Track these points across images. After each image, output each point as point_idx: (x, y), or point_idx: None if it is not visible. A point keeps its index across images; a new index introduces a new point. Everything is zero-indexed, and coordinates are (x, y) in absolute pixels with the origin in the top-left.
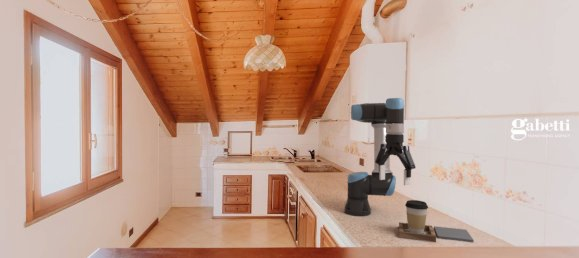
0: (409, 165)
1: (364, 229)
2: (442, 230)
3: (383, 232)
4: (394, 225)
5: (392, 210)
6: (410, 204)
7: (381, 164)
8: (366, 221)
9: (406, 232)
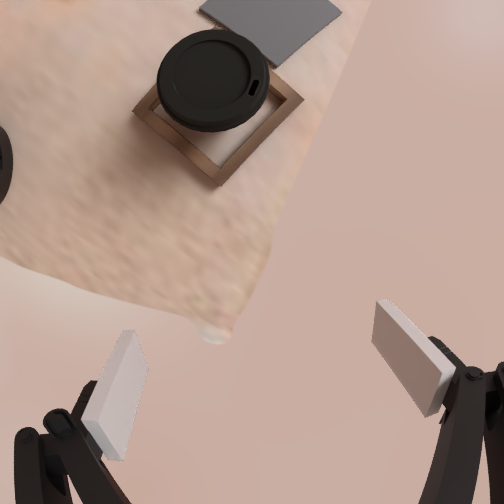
0: (490, 422)
1: (115, 245)
2: (243, 14)
3: (158, 201)
4: (115, 116)
5: (13, 40)
6: (218, 123)
7: (96, 452)
8: (53, 189)
9: (232, 163)
